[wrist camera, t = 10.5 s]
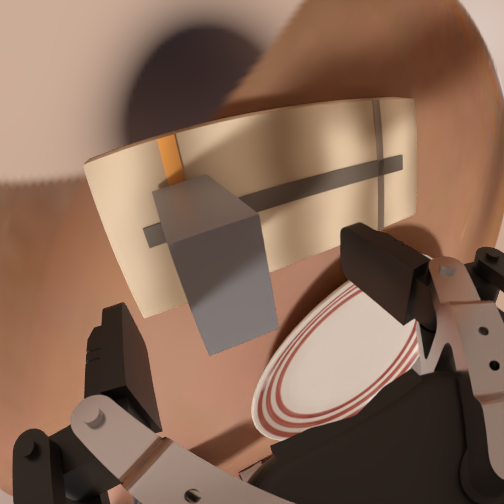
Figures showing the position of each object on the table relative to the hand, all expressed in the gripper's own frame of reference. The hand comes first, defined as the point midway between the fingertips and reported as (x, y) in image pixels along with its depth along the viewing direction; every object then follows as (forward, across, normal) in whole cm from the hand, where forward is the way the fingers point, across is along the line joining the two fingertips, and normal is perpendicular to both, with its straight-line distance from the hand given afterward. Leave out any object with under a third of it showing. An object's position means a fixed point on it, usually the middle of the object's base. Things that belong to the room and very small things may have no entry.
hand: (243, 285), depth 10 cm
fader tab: (+7, 0, 0) cm, 7 cm away
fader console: (+10, -6, 0) cm, 12 cm away
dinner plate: (+11, -13, +22) cm, 28 cm away
